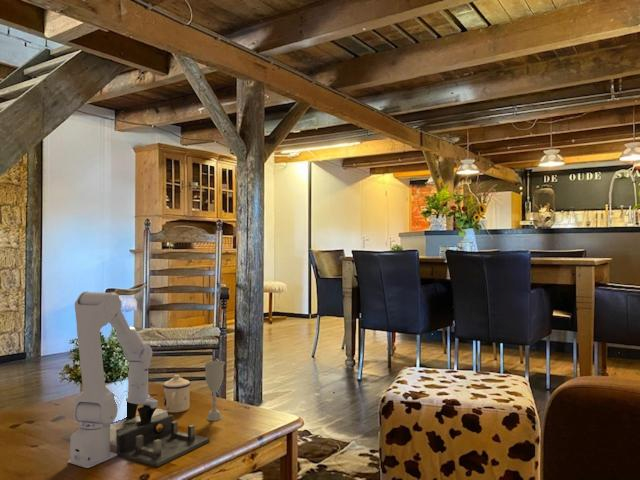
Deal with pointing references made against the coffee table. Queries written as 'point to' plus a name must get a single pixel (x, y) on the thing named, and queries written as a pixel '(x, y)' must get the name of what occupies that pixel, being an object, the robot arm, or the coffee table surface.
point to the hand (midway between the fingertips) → (138, 428)
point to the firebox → (158, 442)
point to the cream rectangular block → (132, 424)
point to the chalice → (214, 384)
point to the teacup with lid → (176, 394)
